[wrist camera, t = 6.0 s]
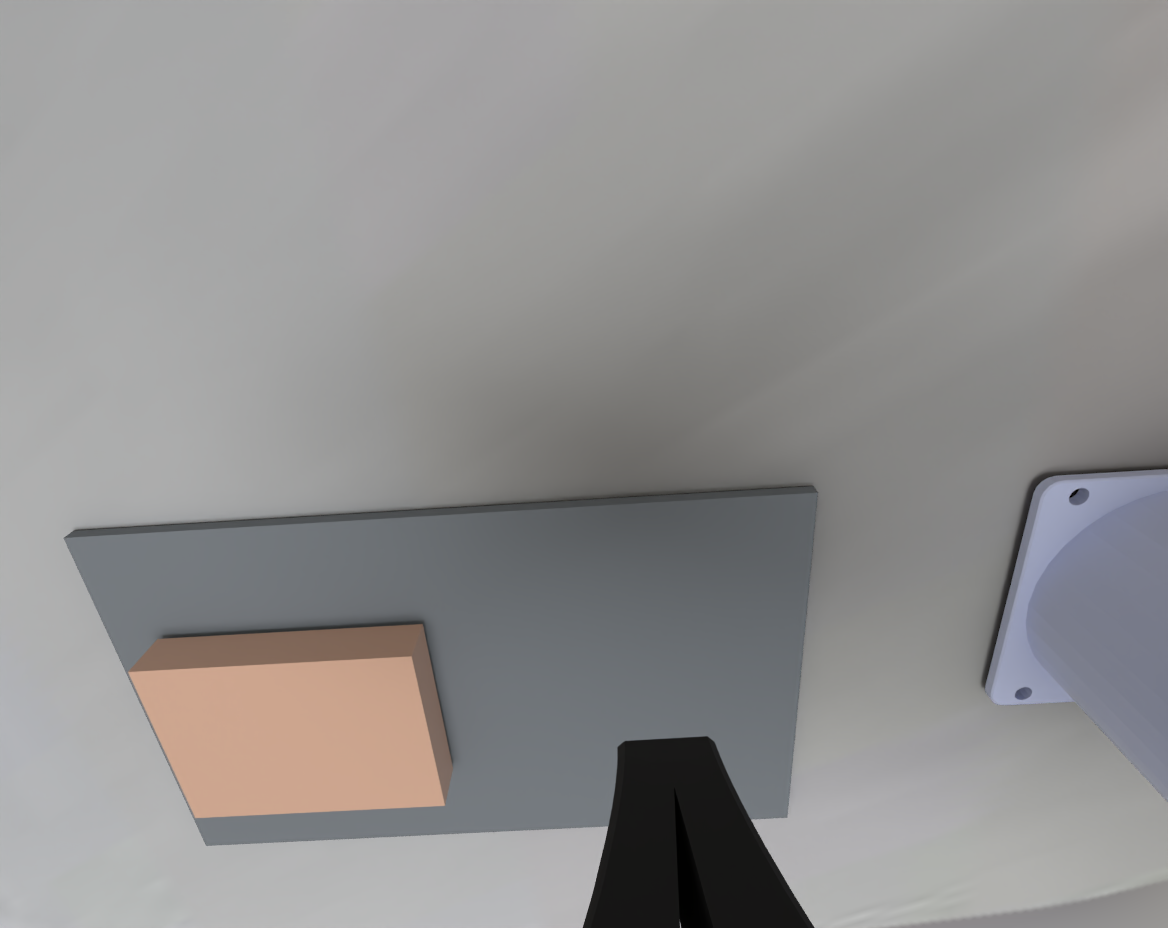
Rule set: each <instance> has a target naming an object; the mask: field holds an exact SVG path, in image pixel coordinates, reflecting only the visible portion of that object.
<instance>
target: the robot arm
mask: <svg viewBox="0 0 1168 928" xmlns="http://www.w3.org/2000/svg"><path fill="white" fill-rule="evenodd" d="M1076 489H1079V491H1078V492H1077V494H1076V495H1074V496H1073V497H1071V498H1069V497H1070V495H1071V493H1072V492H1074V491H1075V490H1076ZM985 692H986V694H987V695H988V696H989V698H990V699H991V700H992V702H993V703H995V704H997V705H1018V704H1037V703H1056V702H1076V703H1077V705H1078V706H1079V707H1080V708H1081V709H1082V710H1083V711H1084V712H1085V713H1086V714H1087V715H1088V716H1089V718H1090V719H1091V720H1092V721H1093V722H1094V723H1095V724H1096V725H1097V726H1098V727H1099V728H1100V729H1101V731H1102V732H1103V733H1104V734H1105V735H1106V736H1107V737H1108V738H1109V739H1110V740H1111V741H1112V742H1113V744H1114V745H1115V746H1116V747H1117V748H1118V749H1119V750H1120V751H1121V752H1122V753H1123V754H1124V755H1125V757H1126V758H1127V759H1128V760H1129V761H1130V762H1131V763H1132V764H1133V765H1134V766H1135V767H1136V768H1137V769H1138V771H1139V772H1140V773H1141V774H1142V775H1143V776H1144V777H1145V778H1146V779H1147V780H1148V781H1149V782H1150V784H1151V785H1152V786H1153V787H1154V788H1155V789H1156V790H1157V791H1158V792H1159V793H1160V794H1161V795H1162V797H1163V798H1164V799H1165V800H1166V801H1167V802H1168V469H1159V470H1143V471H1126V472H1109V473H1093V474H1076V475H1059V476H1053V477H1049V478H1047V479H1045V480H1043V481H1042V482H1041V483H1040V484H1039V485H1038V486H1037V487H1036V489H1035V491H1034V493H1033V497H1032V501H1031V505H1030V509H1029V513H1028V517H1027V521H1026V525H1025V529H1024V533H1023V537H1022V541H1021V545H1020V549H1019V554H1018V558H1017V562H1016V566H1015V570H1014V574H1013V578H1012V582H1011V586H1010V590H1009V594H1008V598H1007V602H1006V606H1005V610H1004V614H1003V618H1002V622H1001V626H1000V630H999V634H998V638H997V642H996V646H995V650H994V654H993V658H992V662H991V666H990V670H989V674H988V678H987V682H986V686H985ZM680 923H681V928H814V926H813V925H812V923H811V922H810V920H809V918H808V917H807V915H806V914H805V912H804V910H803V909H802V907H801V906H800V904H799V902H798V901H797V899H796V898H795V896H794V894H793V893H792V891H791V889H790V888H789V886H788V884H787V882H786V881H785V879H784V877H783V876H782V874H781V872H780V871H779V869H778V867H777V865H776V864H775V862H774V860H773V859H772V857H771V855H770V854H769V852H768V850H767V848H766V847H765V845H764V843H763V841H762V839H761V838H760V836H759V834H758V832H757V830H756V829H755V827H754V825H753V823H752V821H751V819H750V817H749V815H748V813H747V812H746V810H745V808H744V806H743V804H742V802H741V800H740V798H739V796H738V794H737V792H736V790H735V788H734V786H733V784H732V782H731V779H730V777H729V775H728V773H727V771H726V768H725V766H724V764H723V762H722V759H721V757H720V754H719V752H718V749H717V747H716V744H715V742H714V741H713V740H712V739H710V738H709V737H708V736H702V737H684V738H667V739H649V740H631V741H624V742H623V743H622V744H620V745H619V746H618V747H617V773H616V783H615V791H614V798H613V804H612V810H611V815H610V820H609V826H608V831H607V836H606V840H605V845H604V849H603V853H602V857H601V861H600V866H599V870H598V874H597V878H596V882H595V887H594V890H593V894H592V898H591V902H590V905H589V909H588V912H587V915H586V919H585V922H584V925H583V928H680Z"/></svg>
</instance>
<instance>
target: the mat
mask: <svg viewBox="0 0 1168 928" xmlns="http://www.w3.org/2000/svg"><path fill="white" fill-rule="evenodd" d="M817 497H818V492H817V491H816V489H815V488H814V487H813V486H806V487H790V488H773V489H757V490H740V491H724V492H707V493H690V494H674V495H657V496H641V497H624V498H608V499H591V500H575V501H558V502H541V503H525V504H508V505H492V506H475V507H459V508H442V509H425V510H409V511H392V512H376V513H359V514H343V515H326V516H310V517H293V518H276V519H260V520H243V521H227V522H210V523H194V524H177V525H161V526H144V527H127V528H111V529H94V530H78V531H73V532H71V533H70V534H69V535H67V536H66V537H64V540H65V542H66V544H67V546H68V548H69V551H70V553H71V555H72V557H73V559H74V561H75V564H76V566H77V568H78V570H79V572H80V574H81V576H82V579H83V581H84V583H85V585H86V587H87V589H88V592H89V594H90V596H91V598H92V600H93V602H94V605H95V607H96V609H97V611H98V613H99V615H100V617H101V620H102V622H103V624H104V626H105V628H106V630H107V633H108V635H109V637H110V639H111V641H112V643H113V646H114V648H115V650H116V652H117V654H118V656H119V659H120V661H121V663H122V665H123V667H124V669H125V671H126V674H127V676H128V678H129V680H130V682H131V684H132V687H133V689H134V691H135V693H136V695H137V697H138V700H139V702H140V704H141V706H142V708H143V710H144V712H145V715H146V717H147V719H148V721H149V723H150V725H151V728H152V730H153V732H154V734H155V736H156V738H157V741H158V743H159V745H160V747H161V749H162V751H163V754H164V756H165V758H166V760H167V762H168V764H169V766H170V769H171V771H172V773H173V775H174V777H175V779H176V782H177V784H178V786H179V788H180V790H181V792H182V795H183V797H184V799H185V801H186V803H187V805H188V807H189V810H190V812H191V814H192V816H193V818H194V820H195V823H196V825H197V827H198V829H199V831H200V833H201V836H202V838H203V840H204V842H205V844H206V846H212V845H232V844H253V843H273V842H294V841H315V840H335V839H356V838H376V837H397V836H418V835H438V834H459V833H479V832H500V831H520V830H541V829H562V828H582V827H603V826H609V820H610V815H611V810H612V804H613V798H614V791H615V783H616V773H617V747H618V746H619V745H620V744H622V743H623V742H624V741H631V740H649V739H667V738H684V737H702V736H708V737H709V738H710V739H712V740H713V741H714V742H715V744H716V747H717V749H718V752H719V754H720V757H721V759H722V762H723V764H724V766H725V768H726V771H727V773H728V775H729V777H730V779H731V782H732V784H733V786H734V788H735V790H736V792H737V794H738V796H739V798H740V800H741V802H742V804H743V806H744V808H745V810H746V812H747V813H748V815H749V817H750V819H768V818H787V815H788V805H789V794H790V783H791V773H792V762H793V752H794V741H795V730H796V720H797V709H798V699H799V688H800V677H801V667H802V656H803V646H804V635H805V624H806V614H807V603H808V593H809V582H810V571H811V561H812V550H813V540H814V529H815V518H816V508H817ZM415 624H423V627H424V632H425V637H426V642H427V647H428V651H429V656H430V661H431V666H432V670H433V675H434V680H435V685H436V689H437V694H438V699H439V704H440V709H441V713H442V718H443V723H444V728H445V732H446V737H447V742H448V747H449V751H450V756H451V761H452V766H453V771H452V776H451V780H450V785H449V790H448V794H447V799H446V804H445V806H431V807H411V808H390V809H370V810H350V811H330V812H310V813H290V814H269V815H249V816H229V817H209V818H195V817H194V814H193V812H192V810H191V808H190V806H189V804H188V801H187V799H186V797H185V795H184V793H183V791H182V788H181V786H180V784H179V782H178V780H177V778H176V775H175V773H174V771H173V769H172V767H171V765H170V762H169V760H168V758H167V756H166V754H165V751H164V749H163V747H162V745H161V743H160V741H159V738H158V736H157V734H156V732H155V730H154V728H153V725H152V723H151V721H150V719H149V717H148V715H147V712H146V710H145V708H144V706H143V704H142V702H141V699H140V697H139V695H138V693H137V691H136V689H135V686H134V684H133V682H132V680H131V678H130V676H129V673H128V671H129V670H130V669H131V668H132V667H133V666H134V665H135V664H136V662H137V661H138V660H139V659H140V658H141V657H142V656H143V655H144V653H145V652H146V651H147V650H148V649H149V648H150V647H151V646H152V645H153V643H154V642H155V641H156V640H157V639H166V638H183V637H201V636H219V635H237V634H255V633H272V632H290V631H308V630H326V629H343V628H361V627H379V626H397V625H415Z"/></svg>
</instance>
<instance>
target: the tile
mask: <svg viewBox="0 0 1168 928" xmlns="http://www.w3.org/2000/svg"><path fill="white" fill-rule="evenodd" d="M128 673H129V676H130V678H131V680H132V682H133V684H134V686H135V689H136V691H137V693H138V695H139V697H140V699H141V702H142V704H143V706H144V708H145V710H146V712H147V715H148V717H149V719H150V721H151V723H152V725H153V728H154V730H155V732H156V734H157V736H158V738H159V741H160V743H161V745H162V747H163V749H164V751H165V754H166V756H167V758H168V760H169V762H170V765H171V767H172V769H173V771H174V773H175V775H176V778H177V780H178V782H179V784H180V786H181V788H182V791H183V793H184V795H185V797H186V799H187V801H188V804H189V806H190V808H191V810H192V812H193V814H194V817H195V818H209V817H229V816H249V815H269V814H290V813H310V812H330V811H350V810H370V809H390V808H411V807H431V806H445V804H446V799H447V794H448V790H449V785H450V780H451V776H452V771H453V766H452V761H451V756H450V751H449V747H448V742H447V737H446V732H445V728H444V723H443V718H442V713H441V709H440V704H439V699H438V694H437V689H436V685H435V680H434V675H433V670H432V666H431V661H430V656H429V651H428V647H427V642H426V637H425V632H424V627H423V624H415V625H397V626H379V627H361V628H343V629H326V630H308V631H290V632H272V633H255V634H237V635H219V636H201V637H183V638H166V639H157V640H156V641H155V642H154V643H153V645H152V646H151V647H150V648H149V649H148V650H147V651H146V652H145V653H144V655H143V656H142V657H141V658H140V659H139V660H138V661H137V662H136V664H135V665H134V666H133V667H132V668H131V669H130V670H129V671H128Z"/></svg>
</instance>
